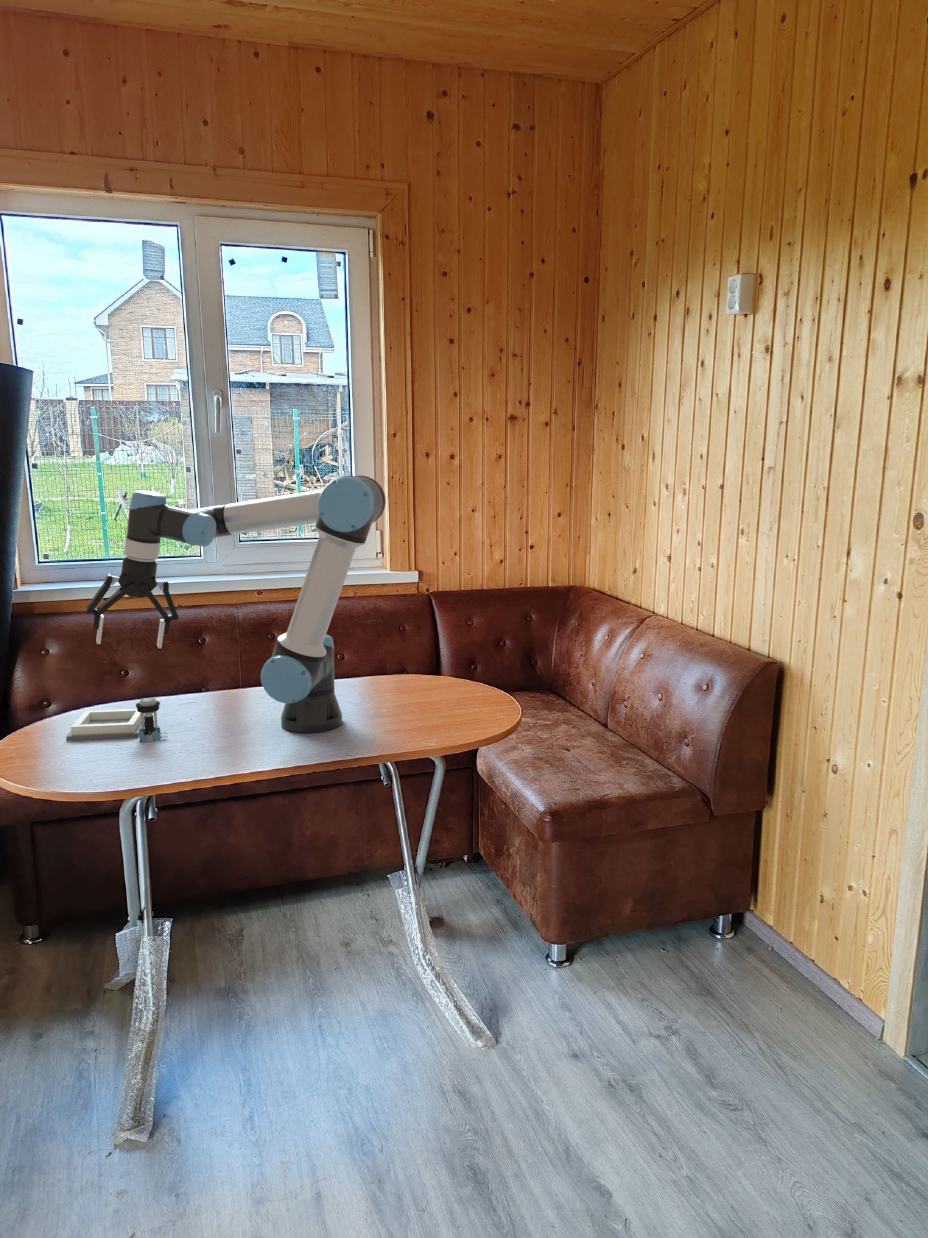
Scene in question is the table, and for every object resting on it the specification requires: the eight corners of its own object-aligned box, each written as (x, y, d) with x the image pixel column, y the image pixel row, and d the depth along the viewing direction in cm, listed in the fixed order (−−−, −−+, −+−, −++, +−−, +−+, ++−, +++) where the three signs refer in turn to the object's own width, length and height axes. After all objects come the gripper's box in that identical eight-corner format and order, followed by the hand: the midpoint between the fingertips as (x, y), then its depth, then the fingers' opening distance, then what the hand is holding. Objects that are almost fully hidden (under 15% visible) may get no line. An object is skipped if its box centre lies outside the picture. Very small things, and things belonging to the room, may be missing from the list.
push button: (168, 735, 204) (165, 695, 202) (168, 742, 199) (165, 701, 197) (138, 738, 202) (135, 697, 200) (137, 745, 197) (135, 703, 195)
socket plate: (149, 718, 216) (148, 707, 216) (137, 737, 202) (136, 725, 201) (83, 721, 214) (82, 709, 213) (66, 740, 199) (65, 728, 199)
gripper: (193, 560, 206) (180, 643, 210) (81, 547, 194) (70, 635, 198) (198, 567, 199) (185, 652, 204) (83, 554, 187) (72, 645, 192)
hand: (129, 644), depth 201 cm, fingers open, 13 cm apart
